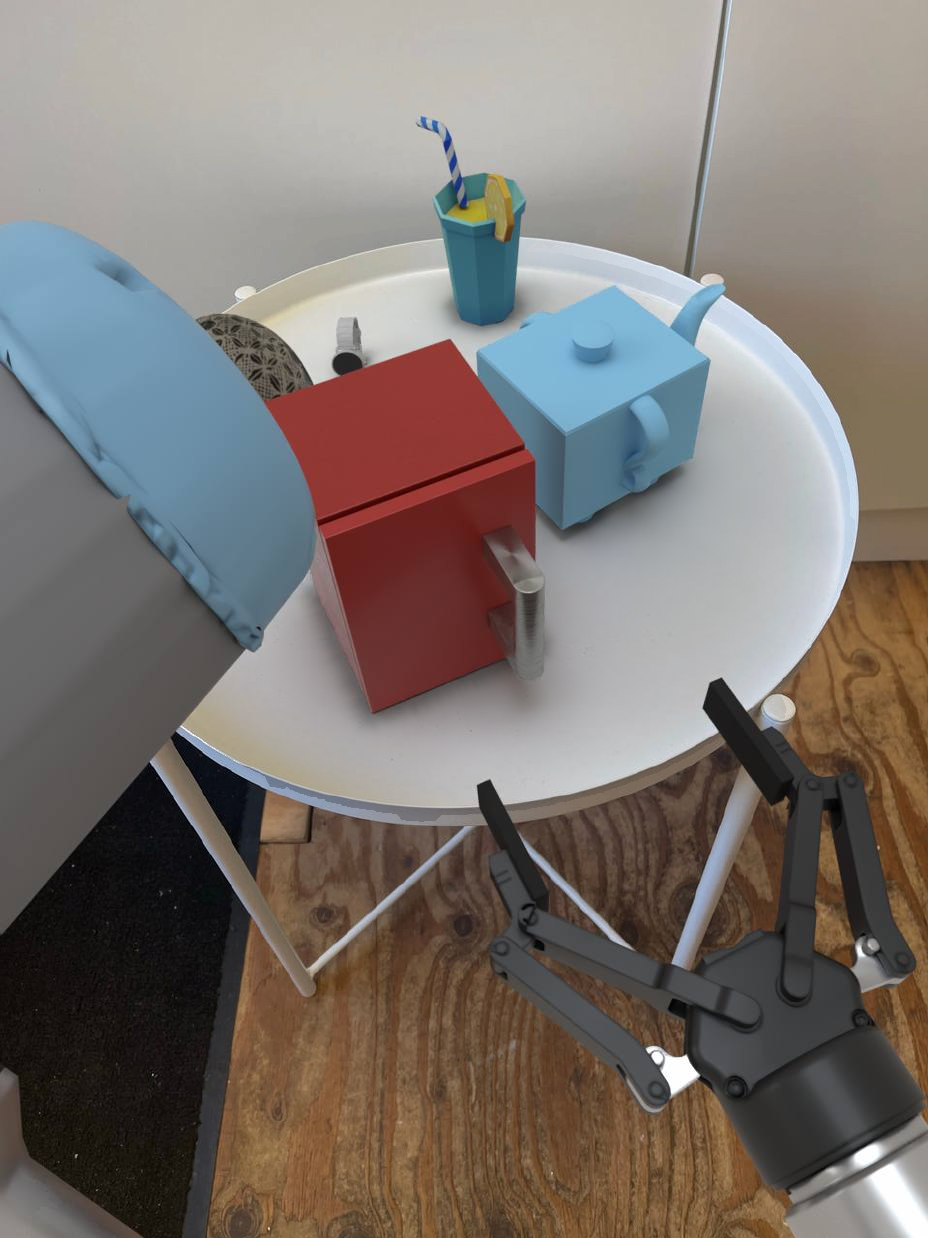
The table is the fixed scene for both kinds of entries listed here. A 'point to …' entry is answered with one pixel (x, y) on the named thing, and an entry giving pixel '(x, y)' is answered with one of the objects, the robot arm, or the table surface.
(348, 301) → the table surface
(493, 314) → the cup
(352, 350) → the wristwatch
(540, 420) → the teapot
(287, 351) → the decorative egg
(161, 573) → the robot arm
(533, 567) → the cabinet door
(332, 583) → the red cabinet body
